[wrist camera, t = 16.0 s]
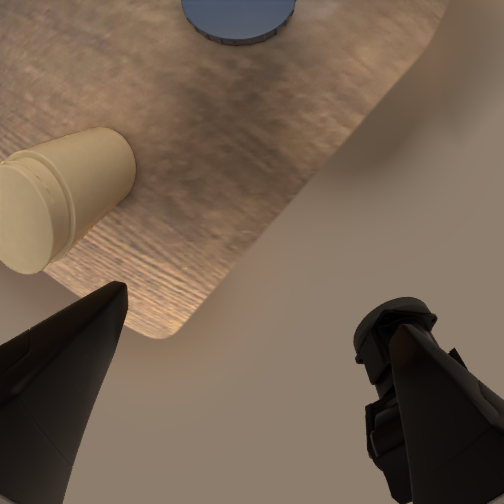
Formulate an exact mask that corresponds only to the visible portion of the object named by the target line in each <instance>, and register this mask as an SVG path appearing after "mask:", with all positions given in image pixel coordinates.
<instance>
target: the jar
mask: <svg viewBox="0 0 504 504" xmlns="http://www.w3.org/2000/svg"><path fill="white" fill-rule="evenodd" d="M135 175H136V163H135V158H134V154H133V151H132V149H131V147H130V145H129V144H128V142H127V141H126V140H125V139H124V138H123V137H122V136H121V135H120V134H119V133H117V132H116V131H114V130H112V129H109V128H106V127H94V128H89V129H86V130H82V131H78V132H75V133H71V134H68V135H64V136H61V137H58V138H55V139H51V140H48V141H45V142H42V143H39V144H36V145H34V146H31V147H28V148H25V149H22V150H20V151H17V152H15V153H13V154H11V155H10V156H9V157H7V158H6V159H5V160H4V161H3V162H0V261H1V262H3V263H4V264H5V265H6V266H7V267H9V268H11V269H12V270H14V271H16V272H19V273H22V274H35V273H38V272H40V271H41V270H43V269H44V268H45V267H46V266H47V265H48V264H49V263H52V262H55V261H58V260H59V259H61V258H62V257H63V256H65V255H66V254H67V253H68V252H69V251H70V250H71V249H72V248H73V246H74V245H75V244H76V243H77V242H78V241H79V240H80V239H81V238H82V237H84V236H85V235H86V234H87V233H88V232H89V231H90V230H91V229H92V228H93V227H94V226H95V225H96V224H97V223H98V222H99V221H100V220H101V219H102V218H103V217H104V216H106V215H107V214H108V213H109V212H110V211H111V210H112V209H113V208H114V207H115V206H117V205H118V204H119V203H120V202H121V201H122V200H123V199H124V198H125V197H126V196H127V195H128V194H129V192H130V190H131V189H132V186H133V184H134V180H135Z"/></svg>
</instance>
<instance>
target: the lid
mask: <svg viewBox="0 0 504 504" xmlns="http://www.w3.org/2000/svg"><path fill="white" fill-rule="evenodd" d="M181 2H182V8H183V10H184V13H185V15H186V16H187V20H188V21H189V22H190V23H191V24H193V25H194V28H195V29H196V30H197V32H198V33H199V32H200V33H202V34H203V35H204V36H206V37H207V38H208V39H209V40H210V39H211V40H214V41H216V42H219V43H221V44H228V45H235V46H237V45H247V44H249V45H251V44H253V43H257V42H260V41H265V39H267V38H269V37H271V36H273V35H274V34H275V35H276V34H277V32H278V31H279V30H280V29H281V28H282V27H283V26H286V24H287V22H288V19H289V17H290V16H292V14H293V12H294V10H293V8H294V6H295V2H296V0H181Z"/></svg>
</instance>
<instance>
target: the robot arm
mask: <svg viewBox="0 0 504 504" xmlns="http://www.w3.org/2000/svg"><path fill="white" fill-rule="evenodd" d="M127 311H128V292H127V285H126V284H125V283H123V282H119V281H112V282H110V283H108V284H107V285H105V286H103V287H101V288H99V289H98V290H96V291H94V292H92V293H90V294H89V295H87V296H85V297H83V298H82V299H80V300H78V301H77V302H75V303H73V304H71V305H70V306H68V307H66V308H64V309H63V310H61V311H59V312H57V313H55V314H54V315H52V316H50V317H49V318H47V319H46V320H43V321H42V322H40V323H39V324H37V325H35V326H33V327H32V328H31V329H30V330H29V329H28V330H26V331H25V332H23V333H22V334H20V335H18V336H16V337H15V338H13V339H11V340H10V341H8V342H6V343H4V344H2V345H1V346H0V504H62V503H63V500H64V496H65V492H66V489H67V485H68V481H69V478H70V475H71V471H72V466H73V464H74V461H75V458H76V455H77V452H78V448H79V446H80V443H81V439H82V436H83V434H84V431H85V428H86V425H87V422H88V419H89V417H90V414H91V411H92V409H93V406H94V403H95V401H96V398H97V395H98V393H99V390H100V388H101V385H102V383H103V380H104V378H105V375H106V373H107V370H108V368H109V365H110V363H111V361H112V358H113V356H114V353H115V350H116V347H117V343H118V340H119V337H120V333H121V330H122V327H123V324H124V320H125V317H126V314H127ZM386 314H387V315H386ZM385 315H386V316H385ZM436 321H437V316H436V315H435V314H432V313H422V312H412V311H403V310H394V309H384V310H383V311H382V312H381V313H380V315H379V317H378V319H377V321H376V322H375V324H374V326H373V328H372V330H371V331H370V333H369V335H368V336H367V338H366V340H365V342H364V343H363V345H362V347H361V349H360V351H359V352H358V354H357V356H356V357H355V360H356V363H357V364H364V365H365V368H366V371H367V374H368V377H369V380H370V383H371V384H372V385H375V387H376V390H377V393H378V396H379V400H378V401H376V402H374V403H371V404H369V405H367V406H365V411H366V415H365V418H366V435H367V450H368V454H369V457H370V458H371V459H373V462H374V463H375V465H376V466H377V467H378V468H379V469H380V470H381V471H383V473H384V475H385V477H386V480H387V483H388V486H389V489H390V492H391V496H392V498H393V499H395V500H396V501H397V502H398V503H399V504H407V503H410V502H413V504H504V400H503V399H501V398H500V397H499V396H498V395H497V394H495V393H494V392H493V391H492V390H490V389H489V388H488V387H487V386H486V385H484V384H483V383H482V382H481V381H480V380H478V379H477V378H476V377H475V376H474V375H473V374H471V373H470V372H469V371H468V369H467V367H466V366H465V364H464V362H463V361H462V359H461V357H460V356H459V354H458V352H457V351H456V349H455V348H453V349H452V350H451V351H450V353H448V354H447V353H446V352H445V351H444V350H442V349H441V348H440V347H439V345H438V344H437V342H436V340H435V338H434V337H433V335H432V333H431V332H430V331H431V329H432V327H433V326H434V324H435V323H436Z"/></svg>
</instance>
